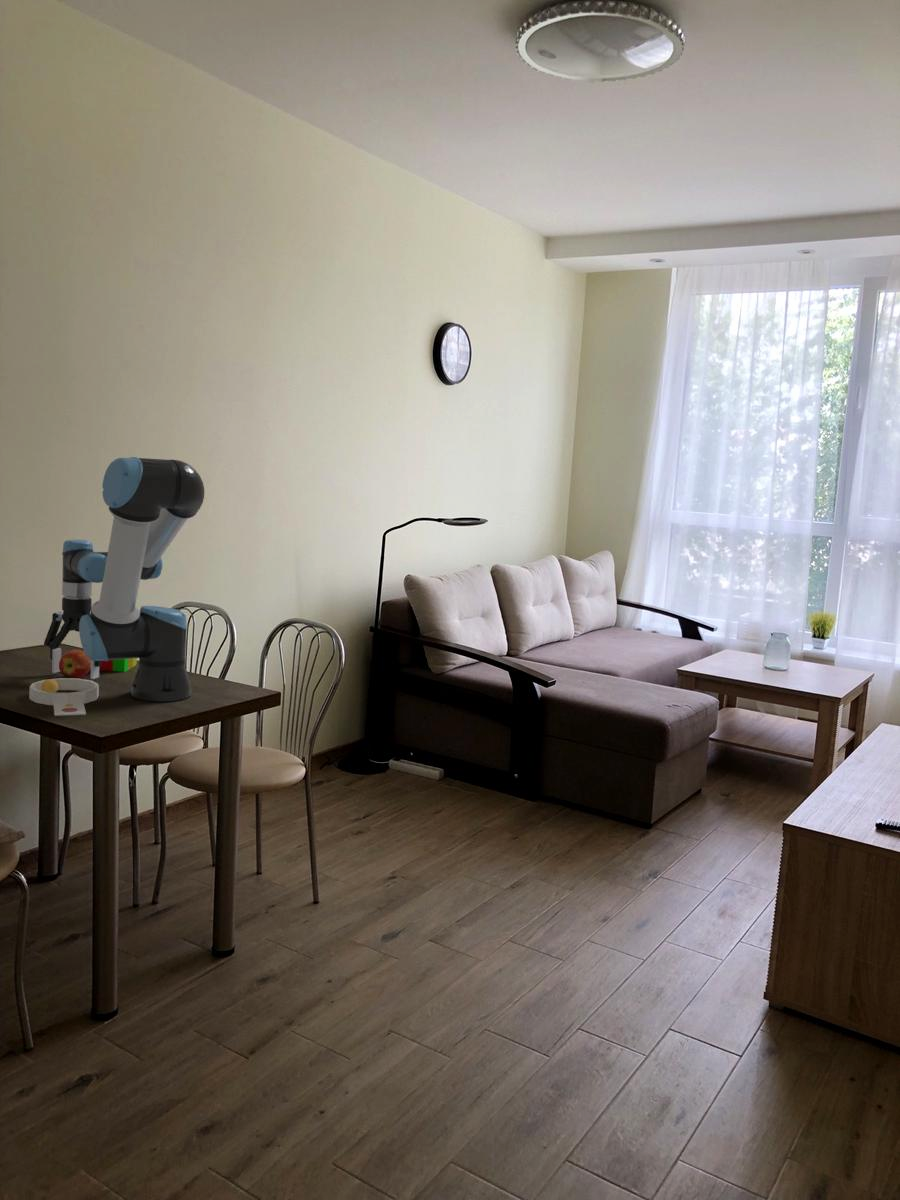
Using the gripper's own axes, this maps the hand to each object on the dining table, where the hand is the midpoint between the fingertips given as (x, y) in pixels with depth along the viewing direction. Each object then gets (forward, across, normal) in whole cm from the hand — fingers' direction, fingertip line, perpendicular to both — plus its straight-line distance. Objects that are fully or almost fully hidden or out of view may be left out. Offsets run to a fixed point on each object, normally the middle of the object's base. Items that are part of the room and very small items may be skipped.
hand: (75, 675), depth 274 cm
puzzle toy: (+1, 0, -17) cm, 17 cm away
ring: (+1, -10, +18) cm, 21 cm away
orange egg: (+1, -6, +18) cm, 19 cm away
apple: (+1, 0, 0) cm, 1 cm away
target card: (+1, -19, +27) cm, 33 cm away
